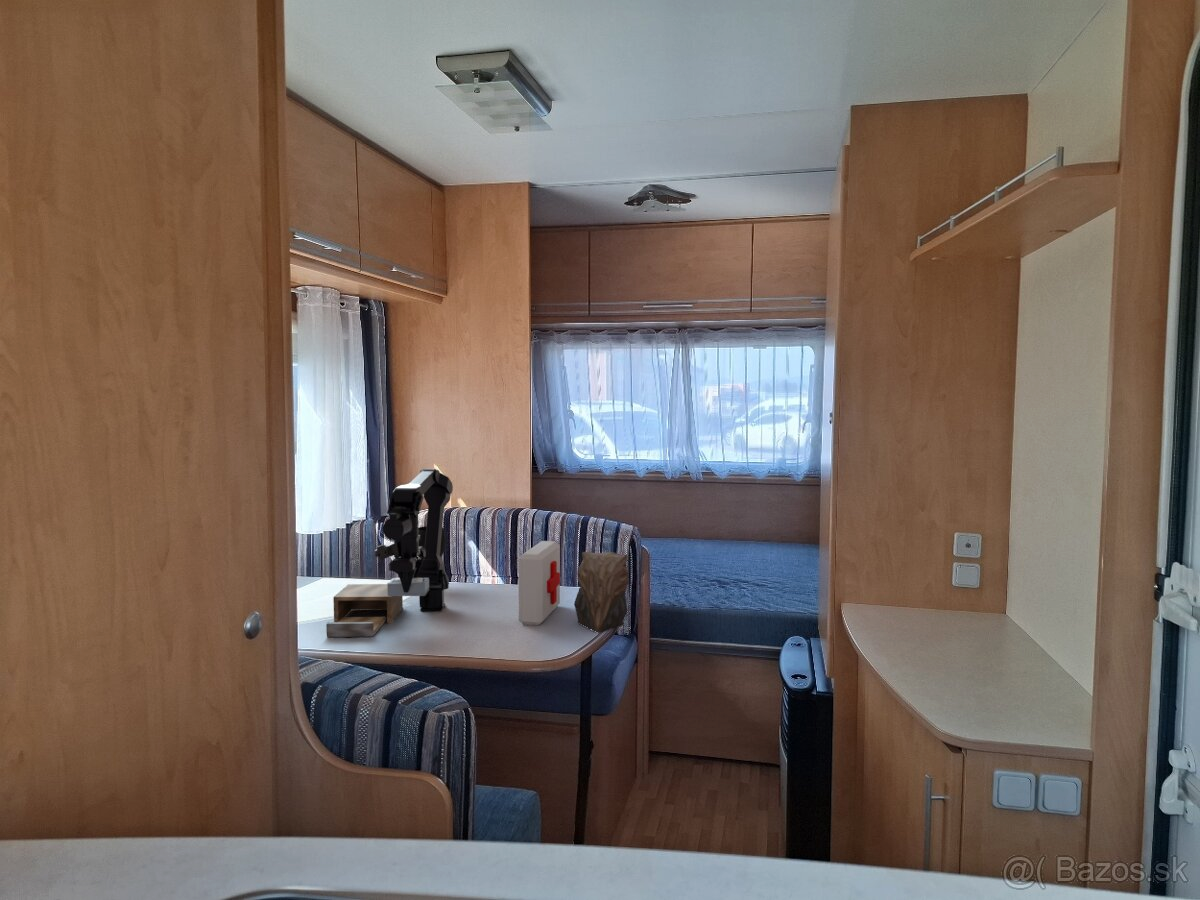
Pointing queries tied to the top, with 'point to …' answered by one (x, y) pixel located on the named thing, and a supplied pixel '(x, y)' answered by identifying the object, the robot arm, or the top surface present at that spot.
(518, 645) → the top surface
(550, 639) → the top surface
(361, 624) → the shelf board
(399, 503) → the robot arm
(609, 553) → the owl
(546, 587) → the bevelled white case
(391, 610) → the open wooden box
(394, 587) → the tray
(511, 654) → the top surface
